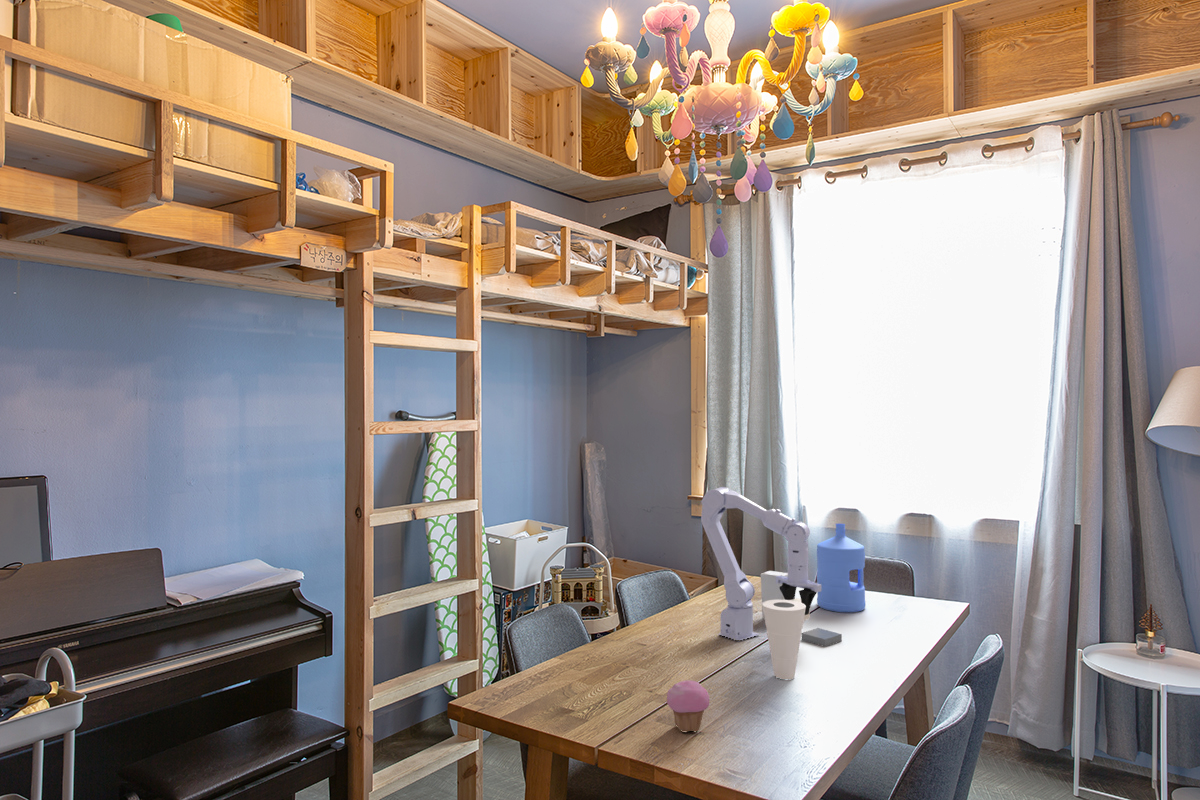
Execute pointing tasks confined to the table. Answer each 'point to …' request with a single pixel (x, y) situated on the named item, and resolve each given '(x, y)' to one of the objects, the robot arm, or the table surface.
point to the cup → (784, 634)
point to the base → (821, 636)
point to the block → (804, 615)
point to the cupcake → (688, 704)
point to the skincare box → (771, 587)
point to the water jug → (840, 573)
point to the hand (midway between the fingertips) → (798, 612)
